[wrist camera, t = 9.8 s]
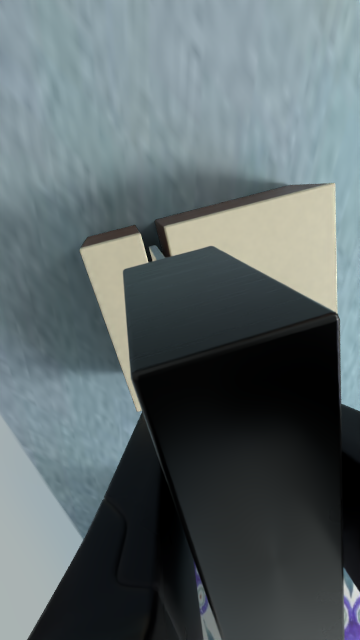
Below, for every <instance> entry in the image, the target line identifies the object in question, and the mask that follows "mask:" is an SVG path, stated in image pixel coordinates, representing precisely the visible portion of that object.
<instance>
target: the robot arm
mask: <svg viewBox="0 0 360 640" xmlns="http://www.w3.org/2000/svg"><path fill="white" fill-rule="evenodd" d="M341 436H342V503H343V567H344V569H345V570H346V572H347V573H348V575H349V577H350V578H351V580H352V581H353V583H354V584H355V586H356V588H357V589H358V591H359V592H360V411H358V410H355V409H353V408H350V407H348V406H346V405H343V404H341ZM27 640H204V638H203V630H202V622H201V615H200V607H199V599H198V591H197V583H196V575H195V567H194V559H193V556H192V554H191V551H190V548H189V545H188V542H187V539H186V536H185V533H184V530H183V528H182V525H181V522H180V519H179V516H178V513H177V510H176V507H175V504H174V502H173V499H172V496H171V493H170V490H169V487H168V484H167V481H166V479H165V476H164V473H163V470H162V467H161V464H160V461H159V458H158V455H157V453H156V450H155V447H154V444H153V441H152V438H151V435H150V432H149V429H148V427H147V424H146V421H145V418H144V415H143V412H142V413H141V416H140V418H139V420H138V422H137V425H136V427H135V429H134V431H133V433H132V436H131V438H130V440H129V442H128V445H127V447H126V449H125V451H124V454H123V456H122V458H121V460H120V462H119V465H118V467H117V469H116V471H115V474H114V476H113V478H112V480H111V483H110V485H109V487H108V489H107V491H106V494H105V496H104V499H103V500H102V502H101V504H100V507H99V509H98V511H97V513H96V515H95V518H94V520H93V522H92V524H91V526H90V528H89V530H88V532H87V534H86V536H85V538H84V540H83V542H82V544H81V546H80V548H79V549H78V551H77V553H76V555H75V557H74V559H73V560H72V562H71V564H70V566H69V567H68V569H67V571H66V573H65V575H64V576H63V578H62V580H61V582H60V583H59V585H58V587H57V589H56V590H55V592H54V594H53V596H52V597H51V599H50V601H49V603H48V604H47V606H46V608H45V610H44V612H43V613H42V615H41V617H40V618H39V620H38V622H37V624H36V625H35V627H34V629H33V631H32V632H31V634H30V636H29V638H28V639H27Z"/></svg>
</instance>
